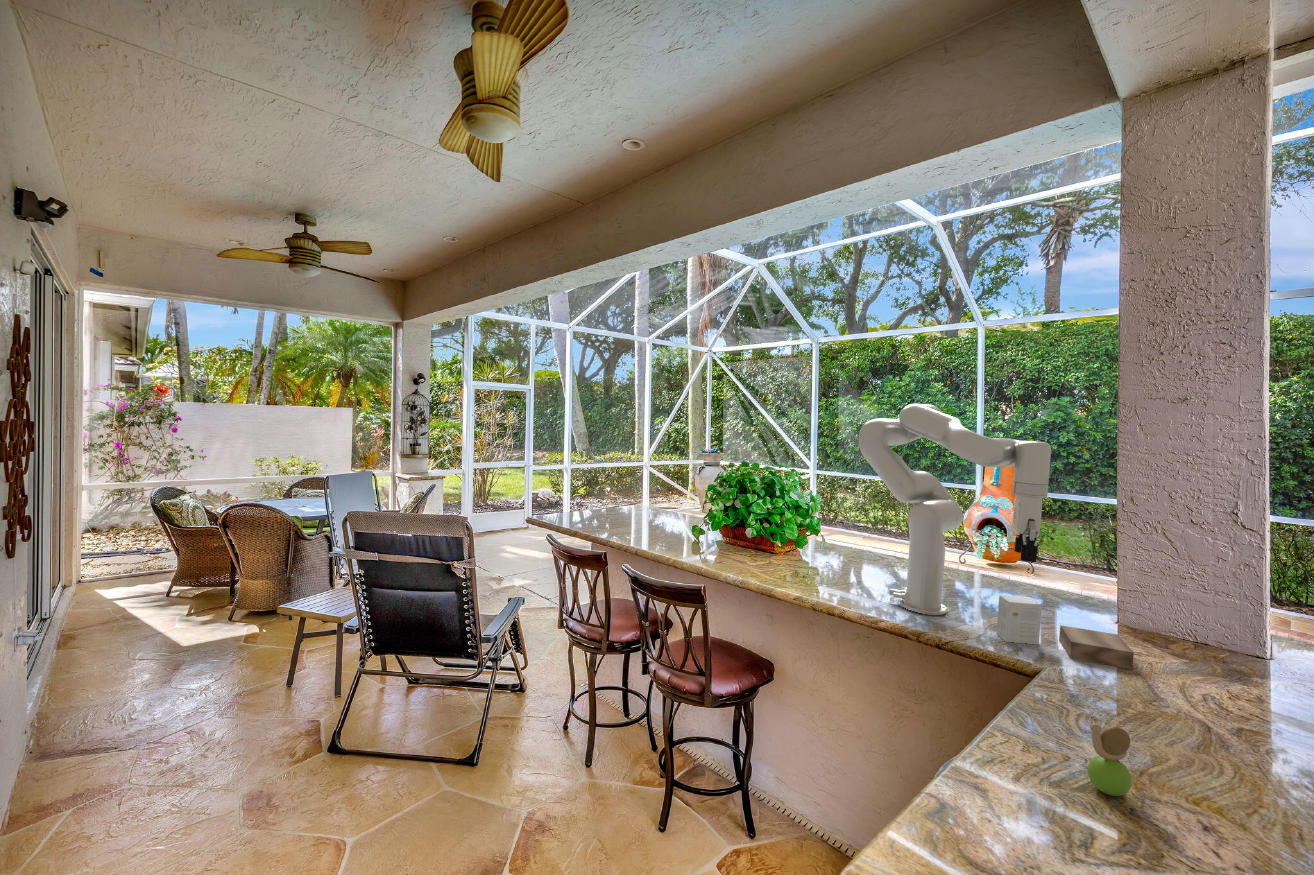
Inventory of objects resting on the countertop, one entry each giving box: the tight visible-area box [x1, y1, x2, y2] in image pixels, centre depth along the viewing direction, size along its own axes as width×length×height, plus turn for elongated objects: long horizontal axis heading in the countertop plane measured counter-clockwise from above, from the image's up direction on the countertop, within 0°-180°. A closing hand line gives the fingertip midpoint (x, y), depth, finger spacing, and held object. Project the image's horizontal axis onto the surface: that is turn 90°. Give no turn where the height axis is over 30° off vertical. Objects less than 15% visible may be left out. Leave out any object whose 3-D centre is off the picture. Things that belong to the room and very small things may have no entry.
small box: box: [996, 594, 1043, 645], centre depth 151 cm, size 8×6×10 cm
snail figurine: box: [1086, 714, 1133, 797], centre depth 90 cm, size 5×6×12 cm
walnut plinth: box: [1058, 624, 1135, 670], centre depth 144 cm, size 12×12×4 cm
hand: (1024, 556), depth 150 cm, fingers open, 9 cm apart
